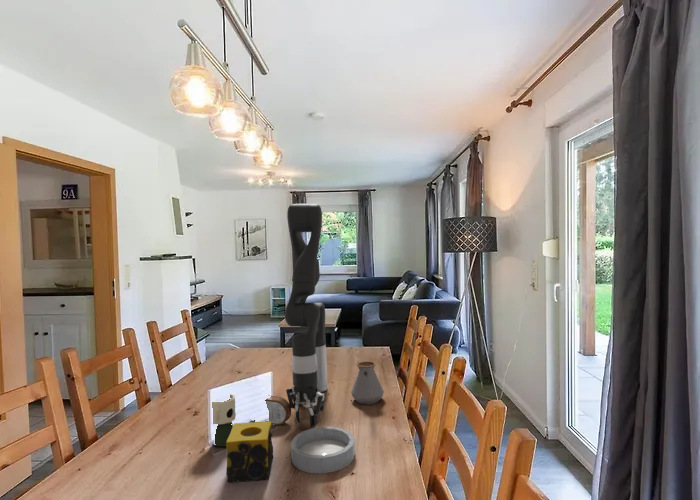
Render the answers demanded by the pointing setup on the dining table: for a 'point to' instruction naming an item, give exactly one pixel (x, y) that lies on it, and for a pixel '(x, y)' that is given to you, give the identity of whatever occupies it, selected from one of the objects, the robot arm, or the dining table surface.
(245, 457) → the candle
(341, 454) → the round tray
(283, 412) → the tin
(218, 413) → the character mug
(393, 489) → the dining table surface
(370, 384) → the coffee pot
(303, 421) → the walnut bead
